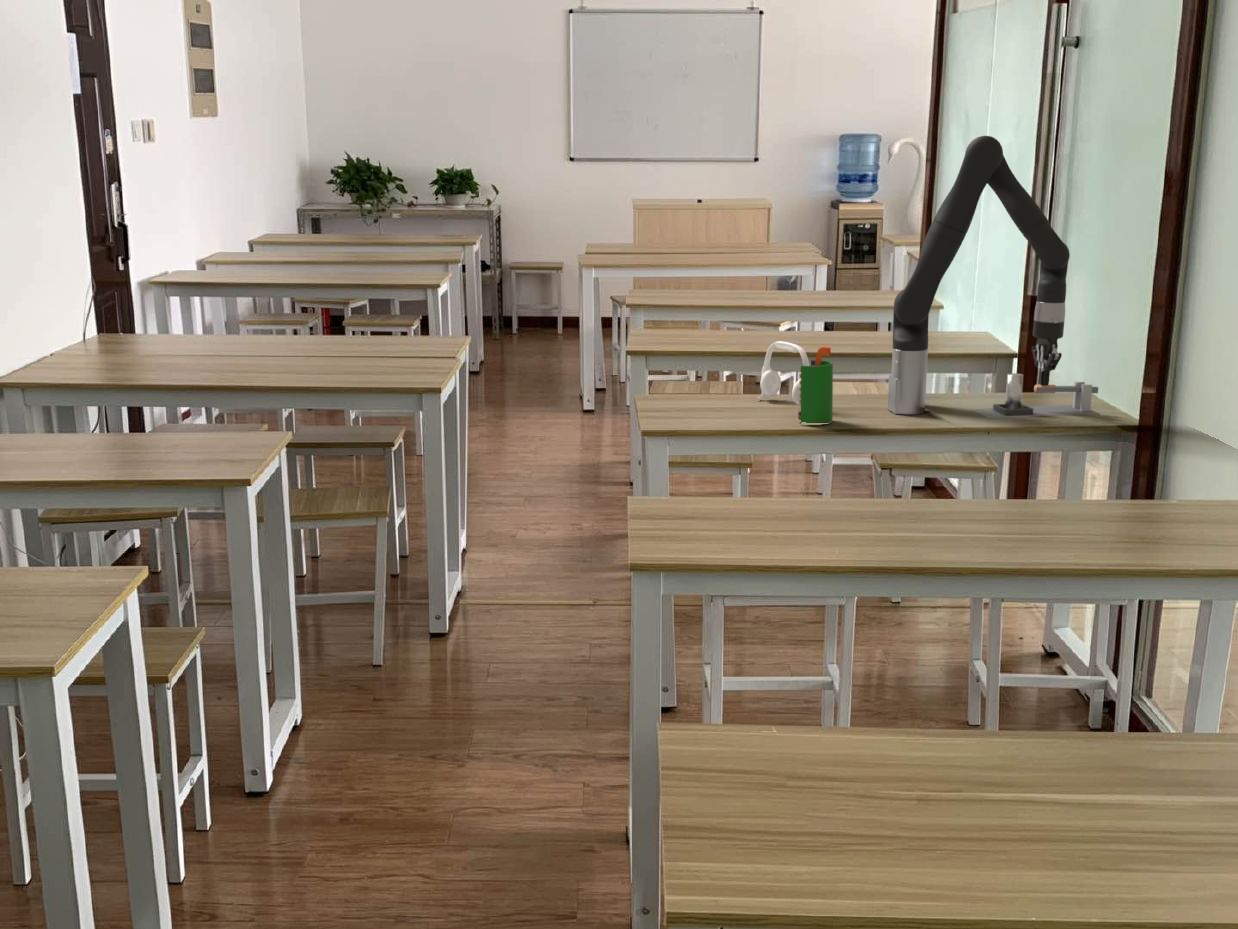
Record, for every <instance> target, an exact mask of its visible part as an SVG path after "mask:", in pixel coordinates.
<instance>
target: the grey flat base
mask: <svg viewBox="0 0 1238 929" xmlns="http://www.w3.org/2000/svg"><path fill="white" fill-rule="evenodd" d="M1073 386H1082V387H1081V392H1073V398H1072V404H1059V405H1035V406H1033V405H1031V406H1028V405H1025V404H1023V403H1021V409H1005V403H996V404H995V403H994V404H992V405H993V406H992V407H991V408H990V407H989V408H988V407H985V408H984V407H983V408H971V411H974V412H976V413H977V414H980V415H981V416H984V417H985V418H988V419H1008V418H1009V419H1010V418H1028V417H1029V418H1032V417H1035V418H1036V417H1049V416H1050V417H1055V416H1056V417H1057V416H1058V417H1059V416H1078V415H1082V416H1083V415H1097V416H1100V415H1101V414H1100V413H1099V412H1097V411H1094V410H1092V409H1091V408H1092V406H1091V405H1092V394H1093V393H1092V387H1093V384H1091V383H1088V384H1087V383H1086V381H1074V384H1073Z"/></svg>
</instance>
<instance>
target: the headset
mask: <svg viewBox="0 0 1238 929" xmlns="http://www.w3.org/2000/svg"><path fill="white" fill-rule="evenodd" d="M775 348H777V350H784V351H788V352H791V353H794V354H796V353H799V355H800V357H801V360H802V363H803V364H802V365H803V366H811V364H810V361H809V358H808V355H807V353H806V351H805V349H804V348H802V347H801V346H800V345H798V344H795V343H792V342H789V341H783V340H782V341H781V340H778V341H774V342H773V343H770V345H769V346H768V348H767V351H766V354H765V357H764V362H763V367H761V378H760V384H759V385H760V386H759V387H760V390H761V395H760V396H771V397H774V396H776V395H777V394H778V393H779V392H780V389H781V387H782V386H781V385H782V380H781V379H782V378H781V376H780V374H779V373H778V371H776V370H774V369H772V367H771V364H770V363H771V358H772V354H773V351H774V349H775ZM800 380H801V378H799V379H798V380H797V381H796V382H795V383H794V385H793V387H792V392H791V393H792V394H791V397H792V400H793V402H794V403H795V404H797V405H799V406H801V404H800V403H799V400H801V398H800V397H799V394H800V393H801V391H800V390H799V388H800V387H801V385H800V384H799V381H800ZM760 396H758V397H757V398H767V399H769V398H770V397H760Z"/></svg>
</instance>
